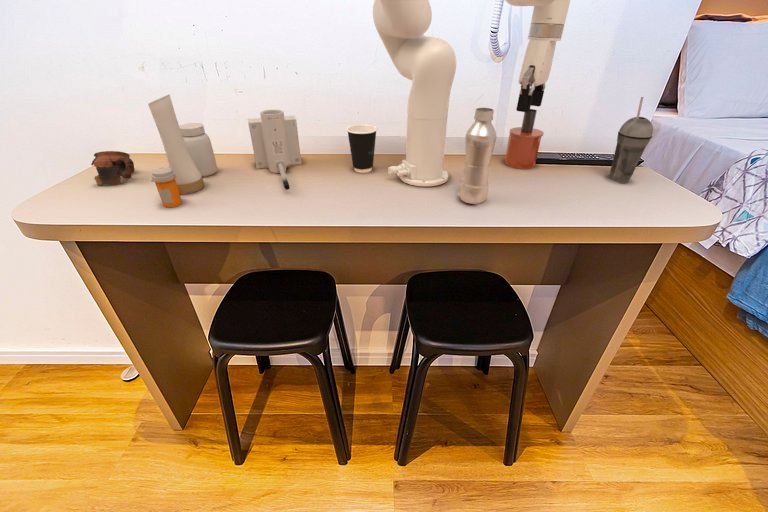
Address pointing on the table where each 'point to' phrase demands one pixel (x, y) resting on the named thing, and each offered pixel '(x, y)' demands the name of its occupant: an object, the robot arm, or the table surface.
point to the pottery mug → (112, 167)
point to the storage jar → (522, 152)
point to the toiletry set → (180, 154)
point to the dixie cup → (362, 146)
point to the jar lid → (527, 126)
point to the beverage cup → (630, 147)
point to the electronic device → (275, 142)
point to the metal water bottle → (478, 157)
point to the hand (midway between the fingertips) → (528, 108)
